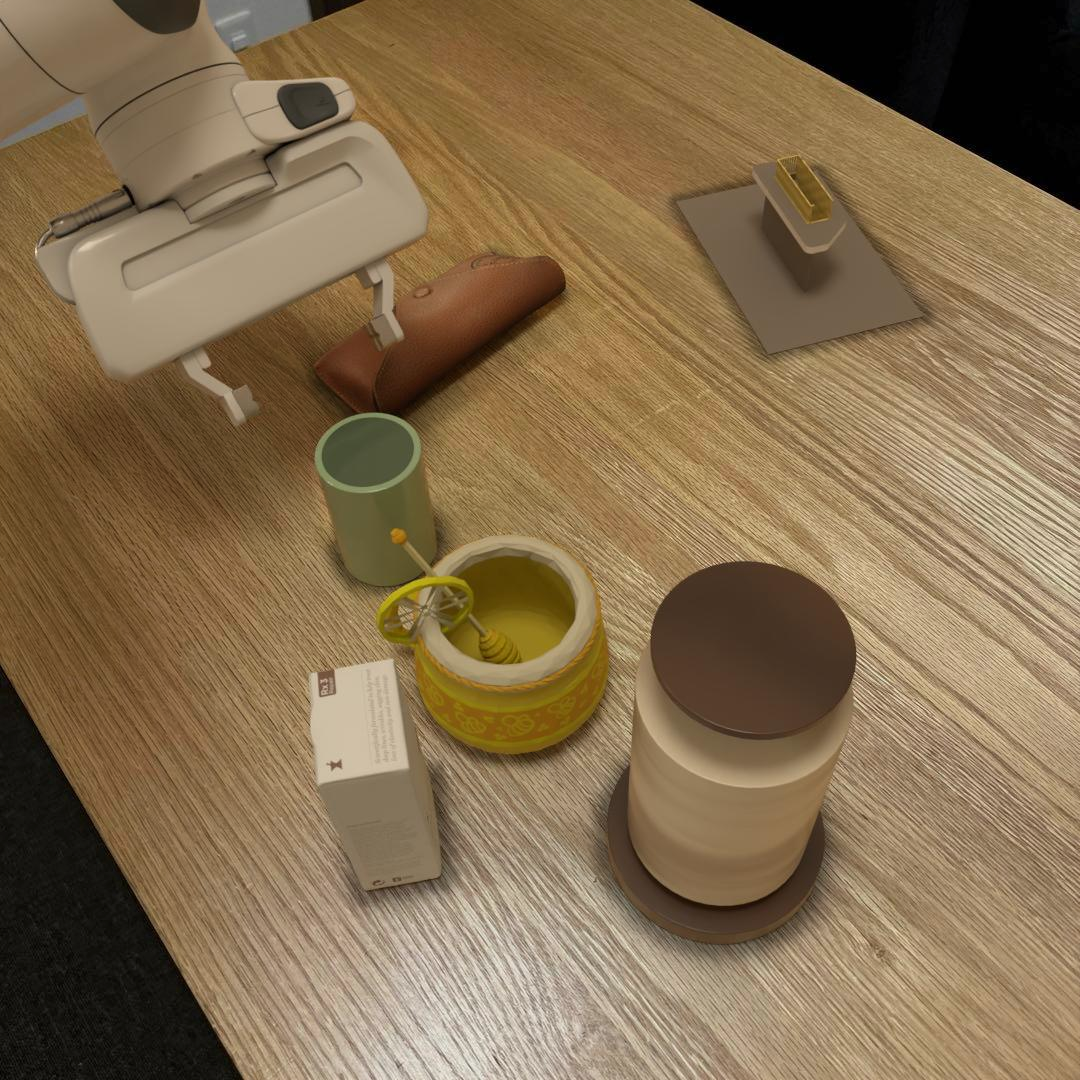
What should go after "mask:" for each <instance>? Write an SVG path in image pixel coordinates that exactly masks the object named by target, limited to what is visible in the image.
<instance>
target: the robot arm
mask: <svg viewBox="0 0 1080 1080" xmlns="http://www.w3.org/2000/svg"><path fill="white" fill-rule="evenodd" d="M78 98H81V100H82V103H83V105H84V109H85V111H86V115H87V121H88V123H89V128H90V130H91V132H92V134H93V137H94V138H95V140H96V142H97V144H98V145H99V147H100V149H101V151H102V153H103V155H104V156H105V158H106V160H107V161H108V163H109V165H110V167H111V169H112V170H113V172H114V174H115V176H116V178H117V179H118V181H119V183H120V185H121V187H120V188H117V189H114V190H112V191H111V192H109V193H106V194H104V195H102V196H99V197H97V198H95V199H93V200H92V201H90V202H88V203H87V204H85V205H83V206H82V207H79V208H76V209H74V210H72V211H70V210H68V211H63V212H61V213H60V214H57V215H56V216H54V217H52V218H51V219H49V220H48V221H47V222H46V226H47V228H46V229H45V230H44V231H43V232H41V234H40V235H39V236H38V238H37V239H36V242H35V246H34V253H33V255H34V260H35V264H36V266H37V269H38V270H39V272H40V274H41V275H42V277H43V279H44V280H45V282H46V284H47V286H48V288H49V290H50V291H51V292H52V294H54V295H55V296H56V297H57V298H58V299H60V300H61V301H63V302H65V303H66V304H68V305H72V306H73V307H74V311H75V313H76V316H77V319H78V321H79V324H80V325H81V328H82V331H83V333H84V335H85V337H86V340H87V342H88V344H89V346H90V348H91V350H92V352H93V354H94V356H95V358H96V360H97V362H98V364H99V366H100V367H101V370H102V371H103V373H104V374H105V376H106V377H108V378H109V379H112V380H114V381H116V382H119V383H122V384H124V385H130V384H132V383H135V382H137V381H139V380H141V379H144V378H145V377H147V376H149V375H151V374H153V373H155V372H157V371H159V370H161V369H163V368H166V367H167V366H169V365H171V364H174V365H175V366H176V368H177V369H178V371H179V373H180V374H181V376H182V378H183V380H184V381H185V382H186V383H187V384H190V385H191V386H193V387H194V388H196V389H198V390H199V391H201V392H202V393H204V394H206V395H208V396H209V397H210V398H211V399H214V400H216V401H217V400H218V401H219V403H220V404H221V407H222V408H223V410H224V412H225V413H226V415H227V417H228V419H229V420H230V422H231V424H232V425H233V426H234V427H235V428H236V427H238V426H241V425H243V424H245V423H246V422H248V421H251V420H252V419H254V418H256V417H257V416H260V415H261V414H262V409H261V408H260V406H259V404H258V402H257V401H255V400H253V398H254V397H253V396H254V395H253V393H252V391H251V389H250V387H249V386H248V384H245V385H242V386H240V387H239V388H237V389H235V390H234V389H232V388H231V387H229V386H228V385H226V384H225V383H223V382H222V381H220V380H218V379H217V378H216V377H214V376H213V375H210V374H209V373H208V372H206V370H207V369H208V368H210V367H211V366H212V362H211V360H210V358H209V356H208V355H207V353H206V351H205V349H204V348H206V347H208V346H210V345H212V344H214V343H216V342H219V341H220V340H223V339H224V338H226V337H228V336H231V335H233V334H234V333H237V332H238V331H240V330H242V329H244V328H246V327H249V326H251V325H253V324H255V323H257V322H260V321H261V320H263V319H265V318H267V317H269V316H271V315H273V314H276V312H279V311H282V310H283V309H285V308H287V307H289V306H291V305H294V304H295V303H297V302H299V301H302V300H304V299H305V298H307V297H310V296H312V295H314V294H316V293H318V292H319V291H322V290H324V289H326V288H328V287H330V286H332V285H334V284H336V283H339V282H340V281H342V280H344V279H346V278H348V277H350V276H352V275H354V274H355V276H356V278H357V280H358V281H359V283H360V285H361V287H362V290H364V291H367V290H369V289H371V288H372V296H373V297H372V299H373V300H372V305H373V309H372V310H373V313H372V314H373V316H372V317H373V319H372V320H371V321H368V322H367V323H365V324H363V325H362V327H363V328H364V330H365V332H366V334H367V335H368V336H369V337H371V338H372V345H373V347H374V348H375V349H376V351H378V352H380V351H382V350H384V349H386V348H388V347H390V346H392V345H394V344H396V343H397V342H399V341H401V340H403V339H404V334H403V331H402V329H401V327H400V326H399V324H398V322H397V320H396V318H395V316H394V314H393V312H392V310H393V307H394V305H395V304H394V300H395V297H394V296H395V273H394V271H393V270H392V267H391V266H390V264H389V261H388V260H387V258H389V257H391V256H393V255H395V254H397V253H399V252H401V251H403V250H405V249H407V248H409V247H412V246H413V245H414V244H416V243H418V242H420V241H421V240H422V239H423V238H424V237H426V236H427V233H428V229H429V223H430V210H429V208H428V206H427V203H426V201H425V199H424V198H423V196H422V194H421V192H420V190H419V188H418V186H417V184H416V183H415V181H414V179H413V178H412V176H411V174H410V172H409V170H408V168H407V167H406V166H405V164H404V163H403V161H402V160H401V158H400V157H399V155H398V154H397V152H396V150H395V149H394V147H393V146H392V144H391V143H390V142H389V141H388V139H387V138H386V137H385V136H384V135H383V133H382V132H381V131H380V130H378V129H377V128H376V127H374V125H371V124H369V123H368V122H365V121H362V120H357V119H356V120H355V119H351V118H352V117H353V115H354V113H355V111H356V110H357V102H356V98H355V96H354V93H353V91H352V90H351V87H350V86H349V84H348V83H347V82H346V81H345V80H344V79H342V78H339V77H336V76H335V77H334V76H331V77H328V76H327V77H312V78H299V79H298V78H297V79H296V78H295V79H276V80H273V79H272V80H251V79H250V77H249V75H248V74H247V72H246V69H245V68H244V66H243V63H242V62H241V61H240V59H239V58H238V56H237V55H236V54H235V53H234V52H233V50H232V49H231V48H230V47H228V46H227V44H226V42H224V40H223V39H222V37H221V36H220V35H219V33H218V32H217V30H216V28H215V26H214V24H213V22H212V19H211V17H210V13H209V9H208V3H207V0H0V143H2V142H3V141H5V140H6V139H9V138H10V137H12V136H13V135H15V134H17V133H19V132H21V131H22V130H24V129H26V128H28V127H29V126H31V125H32V124H34V123H36V122H38V121H40V120H41V119H43V118H45V117H47V116H49V115H50V114H51V113H54V112H55V111H57V110H59V109H61V108H62V107H64V106H66V105H67V104H69V103H72V102H73V101H75V100H77V99H78ZM51 237H53V238H54V239H56V240H53V241H51V242H48V240H49V239H50V238H51ZM47 242H48V243H47ZM46 243H47V244H46Z"/></svg>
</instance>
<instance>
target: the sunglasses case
mask: <svg viewBox="0 0 1080 1080" xmlns="http://www.w3.org/2000/svg"><path fill="white" fill-rule="evenodd" d="M566 289H567V280H566V275H565V272H564V270H563V269H562V267H561V266H560V264H559V263H558V262H557V261H556V260H555V259H553V258H552V257H550V256H549V255H548V256H547V255H532V256H529V257H520V256H511V255H502V254H495V253H494V252H491V251H487V252H486V251H485V252H482V253H478V254H476V255H473V256H471V257H469V258H468V259H465V260H464V261H462V262H460V263H458V264H457V265H455V266H453V267H452V268H450V269H449V270H447V271H445V272H443V273H442V274H441V275H439V276H437V277H436V278H434V279H430V280H428V281H426V282H424V283H421V284H420V285H417V286H416V287H415V288H413V289H412V290H410V291H409V292H407V293H405V294H403V295H402V296H401V297H399V298H398V299H397V301H396V302H395V304H394V305H393V310H392V312H393V314H394V316H395V318H396V320H397V322H398V324H399V326H400V327H401V329H402V331H403V334H404V339H403V340H401V341H399V342H397V343H396V344H394V345H392V346H390V347H388V348H386V349H384V350H382V351H380V352H378V351H376V349H375V348H374V347H373V345H372V338H371V337H369V336H368V335H367V334H366V332H365V330H364V328H363V326H362V327H360V328H358V329H357V330H356V331H354V332H353V333H352V334H350V335H349V336H348V337H346V338H345V339H343V340H342V341H341V342H339V343H337V344H336V345H335V346H333V347H332V348H331V349H329V350H328V351H327V352H326V353H324V354H323V355H322V356H321V357H320V358H319V359H317V360H316V362H314V364H313V366H312V367H313V368H312V369H313V373H314V375H315V376H316V378H317V379H318V380H319V381H320V382H321V383H322V384H323V385H324V386H325V387H326V388H327V389H328V390H330V392H331V393H332V394H334V395H335V396H336V397H337V398H338V399H339V400H341V401H342V402H343V403H344V404H345V405H346V406H347V407H349V409H351V410H352V411H353V412H354V413H355V414H356V415H358V414H364V413H384V414H389V415H393V416H396V417H398V416H399V415H400V414H401V413H403V411H405V410H406V409H408V408H409V407H410V406H412V404H414V403H415V402H416V401H417V400H419V399H420V398H421V397H422V396H424V395H425V394H426V393H428V392H429V391H430V390H431V389H432V388H434V386H436V385H437V384H439V383H441V382H442V381H443V380H444V379H445V378H447V376H449V375H450V374H451V373H452V372H454V371H455V370H456V369H457V368H458V367H460V366H462V365H463V364H465V363H466V362H468V361H469V360H471V359H472V358H473V357H475V356H476V355H477V354H479V353H481V352H482V351H483V350H484V349H486V348H487V347H488V346H490V345H491V344H492V343H494V342H495V341H496V340H497V339H499V338H500V337H501V336H503V335H504V334H507V333H508V332H509V331H511V330H512V329H513V328H514V327H516V326H518V325H519V324H521V323H522V322H523V321H524V320H526V319H527V318H528V317H530V316H531V315H533V314H535V313H536V312H538V311H539V310H540V309H541V308H543V307H545V306H546V305H547V304H549V303H550V302H552V301H553V300H554V299H556V298H557V297H559V296H561V295H562V294H563V293H564V291H566Z"/></svg>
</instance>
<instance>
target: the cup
mask: <svg viewBox="0 0 1080 1080" xmlns="http://www.w3.org/2000/svg"><path fill="white" fill-rule="evenodd" d="M314 465H315V469H316V473H317V477H318V479H319V483H320V487H321V490H322V493H323V497H324V501H325V503H326V508H327V512H328V515H329V520H330V522H331V526H332V530H333V533H334V536H335V540H336V543H337V547H338V551H339V554H340V558H341V561H342V563H343V566H344V567H345V569H346V571H348V573H349V574H350V575H351V576H352V577H353V578H355V579H356V580H358V581H359V582H361V583H364V584H367V585H369V586H373V587H374V586H375V587H394V586H395V587H396V586H400V585H403V584H406V583H408V582H409V583H410V582H412V581H414V580H415V579H416V578H418V577H419V576H420V575H422V574H423V573H424V572H425V571H424V570H423V569H422V568H421V567H420V566H419V565H418V563H417V562H416V561H415V560H414V559H413V558H412V557H411V556H410V554H409V553H408V552H407V551H406V550H405V549H404V548H403V546H402V545H401V546H400V545H399V544H395V543H394V542H392V539H391V537H392V536H391V531H392V530H393V529H399V530H403V531H404V532H405V534H406V536H407V538H406V539H407V541H408V542H409V543H410V545H411V546H412V547H413V548H414V549H415V550H416V551H417V553H418V554H419V555H420V556H421V557H422V558H423V559H424V561H425V562H426V563H427V564H428V565H429V566H430V565H431V564H432V563H433V561H434V559H435V557H436V554H437V550H438V536H437V535H438V534H437V529H436V523H435V518H434V512H433V506H432V501H431V494H430V487H429V483H428V476H427V470H426V465H425V459H424V454H423V448H422V442H421V438H420V436H419V434H418V433H417V431H416V430H415V428H414V427H412V425H411V424H410V423H408V422H407V421H406V420H404V419H402V418H400V417H398V416H393V415H389V414H384V413H364V414H355V415H352V416H348V417H346V418H344V419H342V420H340V421H338V422H336V423H334V424H333V425H332V426H331V427H330V428H328V429H327V430H326V431H325V433H323V435H321V438H319V441H318V443H317V445H316V447H315V450H314Z"/></svg>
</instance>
